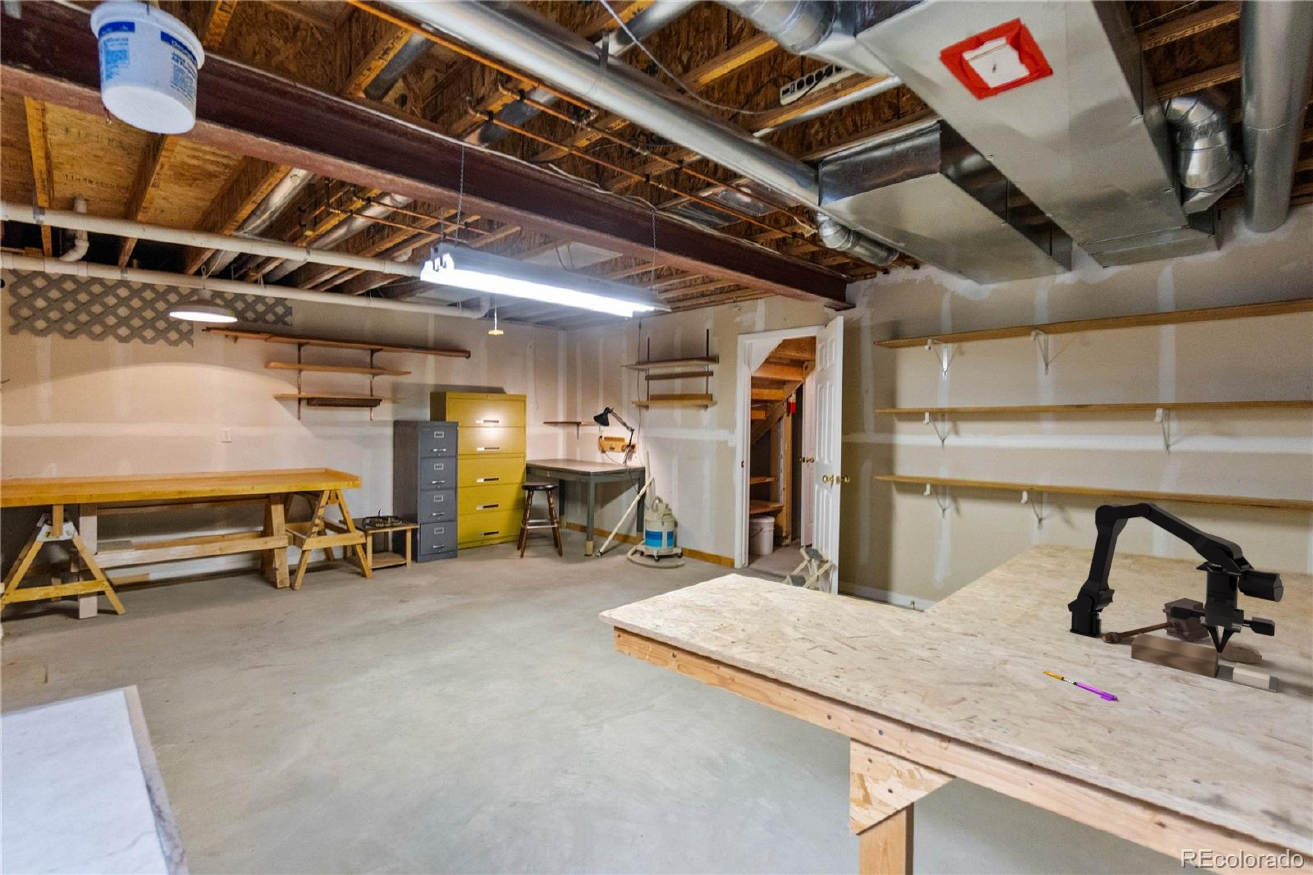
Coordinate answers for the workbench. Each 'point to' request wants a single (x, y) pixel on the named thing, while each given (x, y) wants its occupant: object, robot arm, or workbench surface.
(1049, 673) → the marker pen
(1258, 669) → the cream rectangular block
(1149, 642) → the plate
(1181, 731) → the workbench surface
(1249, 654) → the stone
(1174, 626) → the hammer
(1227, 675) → the mat
